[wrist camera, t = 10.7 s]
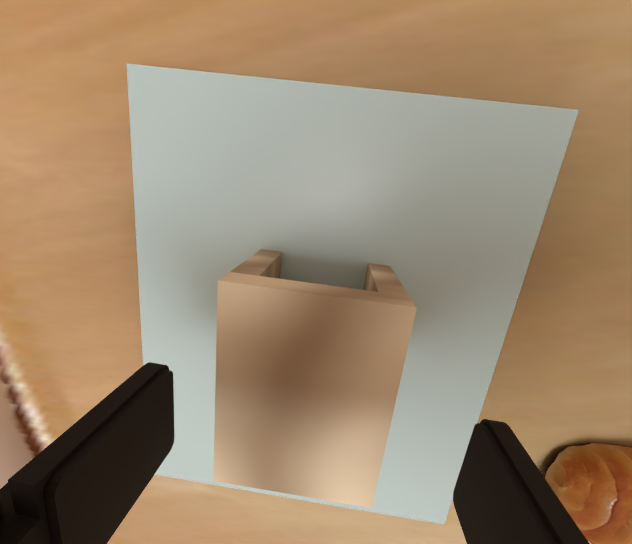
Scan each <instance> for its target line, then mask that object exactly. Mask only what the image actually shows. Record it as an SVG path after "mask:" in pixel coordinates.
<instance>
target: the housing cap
mask: <svg viewBox="0 0 632 544" xmlns="http://www.w3.org/2000/svg"><path fill="white" fill-rule="evenodd" d="M281 259H282V252H279V251H272V250H264V249H261V250H259V251H258V252H256V253H255V254H254V255H252V256H251V257H250V258H248V259H247V260H245V261H244V262H243V263H241V264H240V265H239V266H237V267H236V268H234V269H233V270H232V271H230V272H229V273H228V274H226V275H225V276H224V277H222V278H221V279H219V280H218V291H217V335H216V380H215V425H214V469H213V481H216V482H222V483H228V484H234V485H240V486H245V487H251V488H257V489H263V490H269V491H275V492H280V493H286V494H292V495H298V496H304V497H310V498H315V499H321V500H327V501H333V502H339V503H345V504H350V505H356V506H362V507H368V508H372V505H373V501H374V496H375V492H376V487H377V483H378V478H379V474H380V470H381V465H382V461H383V456H384V452H385V447H386V443H387V438H388V434H389V430H390V425H391V421H392V416H393V412H394V407H395V403H396V398H397V394H398V390H399V385H400V381H401V376H402V372H403V367H404V363H405V358H406V354H407V350H408V345H409V341H410V336H411V332H412V327H413V323H414V318H415V314H416V310H417V307H416V306H415V304H414V303H413V301H412V300H411V298H410V296H409V295H408V293H407V292H406V290H405V289H404V287H403V286H402V284H401V282H400V281H399V279H398V278H397V276H396V275H395V273H394V271H393V270H392V268H391V267H390V266H387V265H379V264H372V263H368V266H367V272H366V278H365V284H364V290H360V289H352V288H345V287H338V286H330V285H323V284H315V283H308V282H301V281H293V280H286V279H280V271H281Z"/></svg>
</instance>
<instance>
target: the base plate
mask: <svg viewBox="0 0 632 544" xmlns="http://www.w3.org/2000/svg"><path fill="white" fill-rule="evenodd" d="M127 78H128V96H129V115H130V133H131V151H132V169H133V188H134V206H135V224H136V243H137V261H138V279H139V297H140V316H141V334H142V352H143V366H144V365H145V364H146V363H149V362H151V363H157V364H163V365H167V366H168V367H169V371H172V372H173V387H174V436H175V438H174V444H173V446H172V449H171V451H170V452H169V454H168V455H167V457H166V458H165V460H164V461H163V462H162V464H161V465H160V467H159V468H158V470H157V471H156V473H155V475H161V476H166V477H172V478H178V479H184V480H190V481H195V482H201V483H207V484H213V485H218V486H224V487H230V488H236V489H242V490H247V491H253V492H259V493H265V494H271V495H276V496H282V497H288V498H294V499H299V500H305V501H311V502H317V503H323V504H328V505H334V506H340V507H346V508H352V509H357V510H363V511H369V512H375V513H380V514H386V515H392V516H398V517H404V518H409V519H415V520H421V521H427V522H433V523H438V524H445V521H446V518H447V514H448V511H449V508H450V505H451V502H452V499H453V492H454V488H455V485H456V482H457V479H458V475H459V472H460V469H461V466H462V463H463V460H464V457H465V454H466V451H467V447H468V444H469V441H470V438H471V435H472V432H473V429H474V426H475V424H477V422H478V419H479V416H480V413H481V410H482V407H483V404H484V401H485V398H486V395H487V392H488V389H489V385H490V382H491V379H492V376H493V373H494V370H495V367H496V364H497V361H498V358H499V355H500V352H501V349H502V346H503V342H504V339H505V336H506V333H507V330H508V327H509V324H510V321H511V318H512V315H513V312H514V309H515V306H516V303H517V299H518V296H519V293H520V290H521V287H522V284H523V281H524V278H525V275H526V272H527V269H528V266H529V263H530V260H531V256H532V253H533V250H534V247H535V244H536V241H537V238H538V235H539V232H540V229H541V226H542V223H543V220H544V217H545V213H546V210H547V207H548V204H549V201H550V198H551V195H552V192H553V189H554V186H555V183H556V180H557V177H558V174H559V170H560V167H561V164H562V161H563V158H564V155H565V152H566V149H567V146H568V143H569V140H570V137H571V134H572V131H573V127H574V124H575V121H576V118H577V115H578V112H579V110H577V109H567V108H558V107H548V106H538V105H528V104H518V103H508V102H499V101H489V100H479V99H469V98H459V97H450V96H440V95H430V94H420V93H410V92H400V91H391V90H381V89H371V88H361V87H351V86H342V85H332V84H322V83H312V82H302V81H292V80H283V79H273V78H263V77H253V76H243V75H234V74H224V73H214V72H204V71H194V70H184V69H175V68H165V67H155V66H145V65H135V64H127ZM261 249H264V250H272V251H279V252H282V259H281V271H280V279H286V280H293V281H301V282H308V283H315V284H323V285H330V286H338V287H345V288H352V289H360V290H364V284H365V278H366V272H367V266H368V263H372V264H379V265H387V266H390V267H391V268H392V270H393V271H394V273H395V275H396V276H397V278H398V279H399V281H400V282H401V284H402V286H403V287H404V289H405V290H406V292H407V293H408V295H409V296H410V298H411V300H412V301H413V303H414V304H415V306H416V307H417V310H416V314H415V318H414V323H413V327H412V332H411V336H410V341H409V345H408V350H407V354H406V358H405V363H404V367H403V372H402V376H401V381H400V385H399V390H398V394H397V398H396V403H395V407H394V412H393V416H392V421H391V425H390V430H389V434H388V438H387V443H386V447H385V452H384V456H383V461H382V465H381V470H380V474H379V478H378V483H377V487H376V492H375V496H374V501H373V505H372V508H368V507H362V506H356V505H350V504H345V503H339V502H333V501H327V500H321V499H315V498H310V497H304V496H298V495H292V494H286V493H280V492H275V491H269V490H263V489H257V488H251V487H245V486H240V485H234V484H228V483H222V482H216V481H213V469H214V425H215V380H216V335H217V291H218V280H219V279H221V278H222V277H224V276H225V275H226V274H228V273H229V272H230V271H232V270H233V269H234V268H236V267H237V266H239V265H240V264H241V263H243V262H244V261H245V260H247V259H248V258H250V257H251V256H252V255H254V254H255V253H256V252H258V251H259V250H261Z"/></svg>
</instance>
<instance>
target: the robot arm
mask: <svg viewBox="0 0 632 544" xmlns="http://www.w3.org/2000/svg"><path fill="white" fill-rule="evenodd" d="M174 438H175V436H174V387H173V372H172V371H169V367H168V366H167V365H163V364H157V363H151V362H149V363H146V364H145V365H144V366H142V367H141V368H140V369H139V370H138V371H136V372H135V373H134V374H133V375H132V376H131V377H129V378H128V379H127V380H126V381H125V382H123V383H122V384H121V385H120V386H119V387H118V388H116V389H115V390H114V391H113V392H112V393H110V394H109V395H108V396H107V397H106V398H105V399H103V400H102V401H101V402H100V403H99V404H97V405H96V406H95V407H94V408H93V409H91V410H90V411H89V412H88V413H87V414H86V415H84V416H83V417H82V418H81V419H80V420H78V421H77V422H76V423H75V424H74V425H73V426H71V427H70V428H69V429H68V430H67V431H65V432H64V433H63V434H62V435H61V436H60V437H58V438H57V439H56V440H55V441H54V442H52V443H51V444H50V445H49V446H48V447H46V448H45V449H44V450H43V451H42V452H41V453H39V454H38V455H37V456H36V457H35V458H33V459H32V460H31V461H30V462H29V463H28V464H26V465H25V466H24V467H23V468H22V469H20V471H18V472H17V473H16V474H15V475H14V476H12V477H11V478H10V479H9V480H8V483H7V484H6V485H5V486H4V487H3V488H1V489H0V544H107V542H108V541H109V539H110V538H111V536H112V535H113V534H114V532H115V531H116V529H117V528H118V526H119V525H120V523H121V522H122V521H123V519H124V518H125V516H126V515H127V513H128V512H129V510H130V509H131V507H132V506H133V505H134V503H135V502H136V500H137V499H138V497H139V496H140V494H141V493H142V491H143V490H144V489H145V487H146V486H147V484H148V483H149V481H150V480H151V478H152V477H153V476H154V474H155V473H156V471H157V470H158V468H159V467H160V465H161V464H162V462H163V461H164V460H165V458H166V457H167V455H168V454H169V452H170V451H171V449H172V446H173V444H174ZM453 501H454V506H455V509H456V512H457V515H458V518H459V521H460V524H461V527H462V530H463V533H464V536H465V539H466V542H467V544H589V542H588V541H587V539H586V538H585V536H584V535H583V533H582V532H581V531H580V529H579V528H578V526H577V525H576V523H575V522H574V520H573V519H572V517H571V516H570V515H569V513H568V512H567V510H566V509H565V507H564V506H563V504H562V503H561V501H560V500H559V498H558V497H557V496H556V494H555V493H554V491H553V490H552V488H551V487H550V485H549V484H548V482H547V481H546V480H545V478H544V477H543V475H542V474H541V472H540V471H539V469H538V468H537V466H536V465H535V463H534V462H533V461H532V459H531V458H530V456H529V455H528V453H527V452H526V450H525V449H524V447H523V446H522V444H521V443H520V442H519V440H518V439H517V437H516V436H515V434H514V433H513V431H512V430H511V428H510V427H509V426H508V425H507V424H506V423H504V422H499V421H493V420H487V419H483V420H482V421H481V422H480V424H479V423H477V424H475V426H474V429H473V432H472V435H471V438H470V441H469V444H468V447H467V451H466V454H465V457H464V460H463V463H462V466H461V469H460V472H459V475H458V479H457V482H456V485H455V488H454V492H453Z"/></svg>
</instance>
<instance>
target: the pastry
mask: <svg viewBox="0 0 632 544" xmlns="http://www.w3.org/2000/svg"><path fill="white" fill-rule="evenodd" d="M545 480H546V481H547V482H548V484H549V485H550V487H551V488H552V490H553V491H554V493H555V494H556V496H557V497H558V498H559V500H560V501H561V503H562V504H563V506H564V507H565V509H566V510H567V512H568V513H569V515H570V516H571V517H572V519H573V520H574V522H575V523H576V525H577V526H578V528H579V529H580V531H581V532H582V533H583V535H584V536H585V538H586V539H587V541H590V542H591V543H592V544H632V447H626V446H619V445H611V444H600V443H591V444H588V445H582V446H569V447H567V448H566V449H565V450H563V451H562V452H560V453H559V454H558V456H557V458H556V460H555V461H554V462H553V463H552V464H551V466H550V467H549V468H548V470H547V472H546V476H545Z"/></svg>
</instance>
